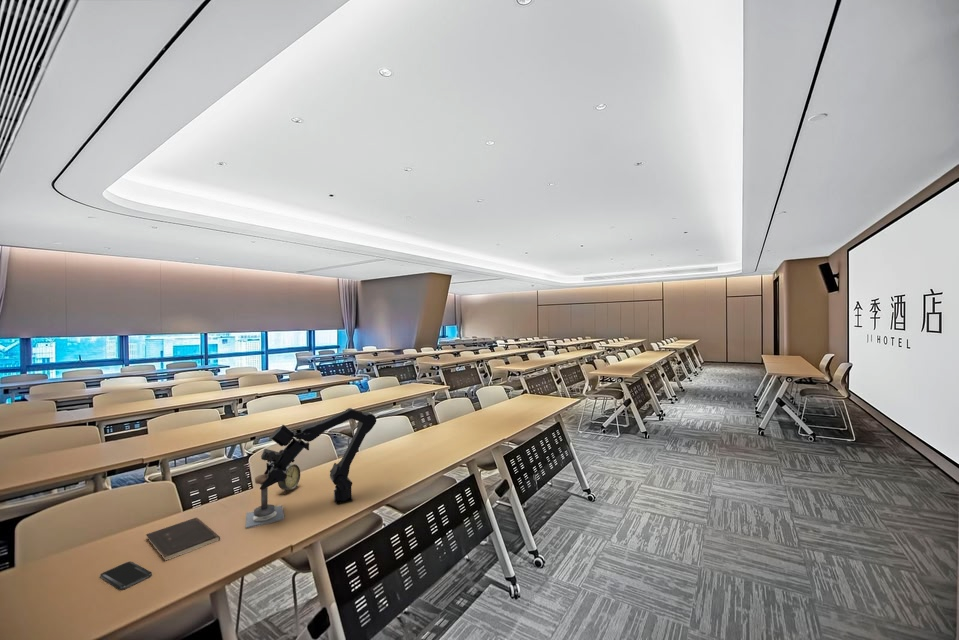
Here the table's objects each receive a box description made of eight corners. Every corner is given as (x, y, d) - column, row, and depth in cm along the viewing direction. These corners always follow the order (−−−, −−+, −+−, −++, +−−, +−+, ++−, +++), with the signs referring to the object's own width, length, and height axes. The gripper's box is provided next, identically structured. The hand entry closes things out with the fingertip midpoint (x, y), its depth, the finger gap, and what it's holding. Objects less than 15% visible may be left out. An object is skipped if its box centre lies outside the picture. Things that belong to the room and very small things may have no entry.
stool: (277, 507, 160) (277, 472, 160) (271, 515, 153) (270, 479, 153) (258, 509, 159) (257, 474, 159) (250, 517, 152) (250, 480, 152)
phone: (121, 588, 115) (98, 574, 122) (121, 592, 115) (98, 577, 122) (153, 573, 122) (130, 560, 129) (153, 576, 122) (130, 563, 129)
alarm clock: (285, 496, 177) (285, 460, 177) (275, 495, 178) (274, 459, 179) (301, 486, 188) (300, 452, 188) (291, 485, 189) (290, 451, 189)
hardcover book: (164, 563, 129) (164, 556, 129) (146, 540, 144) (146, 534, 144) (220, 541, 142) (220, 535, 142) (198, 522, 156) (198, 516, 156)
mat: (282, 506, 167) (282, 505, 167) (284, 519, 156) (284, 517, 156) (246, 514, 161) (246, 512, 161) (245, 528, 149) (245, 526, 149)
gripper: (272, 436, 166) (242, 468, 160) (276, 447, 150) (243, 483, 145) (293, 451, 170) (264, 482, 165) (299, 463, 155) (268, 499, 149)
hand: (260, 486), depth 156 cm, fingers closed on stool, 6 cm apart
